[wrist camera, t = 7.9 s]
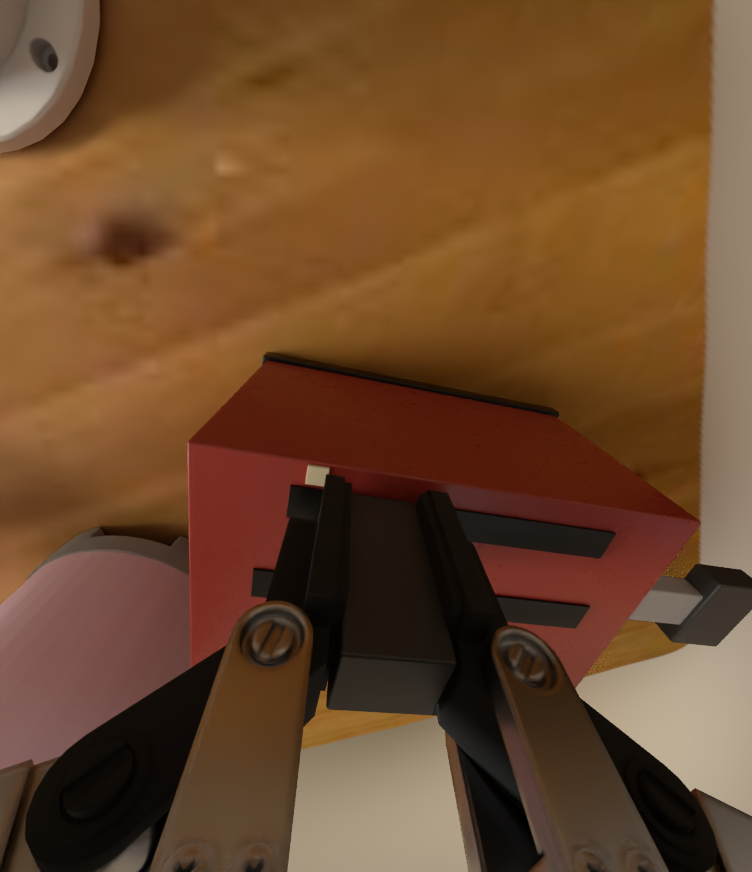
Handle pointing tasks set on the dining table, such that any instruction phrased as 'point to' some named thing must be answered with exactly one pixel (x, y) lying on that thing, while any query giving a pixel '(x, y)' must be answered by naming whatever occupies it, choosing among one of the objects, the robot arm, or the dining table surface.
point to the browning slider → (389, 617)
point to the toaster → (416, 474)
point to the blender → (89, 639)
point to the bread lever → (698, 604)
